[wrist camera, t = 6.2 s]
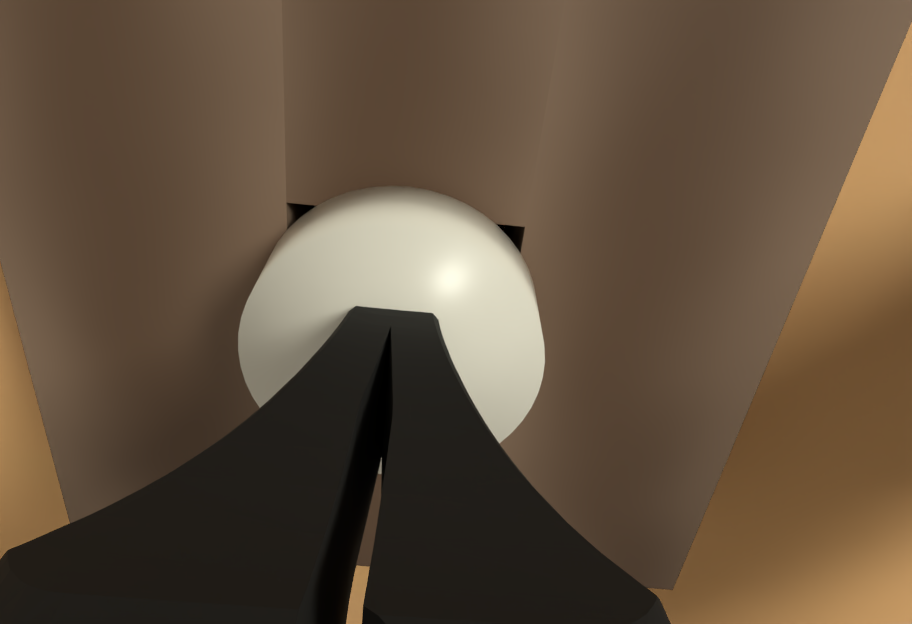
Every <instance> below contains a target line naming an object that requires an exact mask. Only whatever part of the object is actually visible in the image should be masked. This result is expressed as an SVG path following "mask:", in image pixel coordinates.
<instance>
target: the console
mask: <svg viewBox="0 0 912 624" xmlns="http://www.w3.org/2000/svg"><path fill="white" fill-rule="evenodd" d="M911 22H912V0H0V262H1V265H2V269H3V273H4V277H5V280H6V284H7V288H8V292H9V296H10V299H11V303H12V307H13V311H14V314H15V318H16V322H17V326H18V329H19V333H20V337H21V341H22V344H23V348H24V352H25V356H26V359H27V363H28V367H29V371H30V375H31V378H32V382H33V386H34V390H35V393H36V397H37V401H38V405H39V408H40V412H41V416H42V420H43V423H44V427H45V431H46V435H47V438H48V442H49V446H50V450H51V453H52V457H53V461H54V465H55V469H56V472H57V476H58V480H59V484H60V487H61V491H62V495H63V499H64V502H65V506H66V510H67V514H68V517H69V521H70V523H72V522H75V521H77V520H79V519H81V518H84V517H86V516H88V515H90V514H93V513H95V512H97V511H99V510H101V509H103V508H105V507H107V506H109V505H111V504H113V503H115V502H117V501H119V500H121V499H123V498H124V497H126V496H128V495H130V494H132V493H134V492H136V491H138V490H140V489H142V488H144V487H145V486H147V485H149V484H151V483H152V482H154V481H156V480H158V479H160V478H161V477H163V476H165V475H167V474H168V473H170V472H172V471H173V470H175V469H177V468H178V467H180V466H181V465H183V464H184V463H186V462H187V461H189V460H190V459H192V458H194V457H195V456H197V455H198V454H200V453H201V452H203V451H204V450H206V449H207V448H208V447H210V446H211V445H213V444H214V443H216V442H217V441H219V440H220V439H221V438H223V437H224V436H225V435H227V434H228V433H229V432H231V431H232V430H233V429H235V428H236V427H237V426H238V425H240V424H241V423H242V422H244V421H245V420H246V419H247V418H249V417H250V416H251V415H252V414H253V413H255V412H256V411H257V410H258V409H259V406H258V405H257V403H256V402H255V400H254V399H253V397H252V395H251V393H250V391H249V389H248V386H247V384H246V382H245V379H244V376H243V373H242V370H241V366H240V360H239V353H238V332H239V326H240V321H241V316H242V313H243V310H244V308H245V305H246V302H247V300H248V298H249V296H250V294H251V292H252V290H253V288H254V286H255V284H256V282H257V280H258V278H259V276H260V274H261V272H262V270H263V268H264V266H265V265H266V263H267V261H268V259H269V257H270V255H271V253H272V251H273V249H274V248H275V246H276V244H277V242H278V241H279V240H280V238H281V237H282V236H283V234H284V233H285V232H286V231H287V229H288V228H289V227H290V226H291V225H292V224H293V223H295V222H296V221H297V220H298V219H299V218H300V217H301V216H302V215H304V214H305V213H307V212H308V211H309V210H311V209H312V208H314V207H315V206H317V205H319V204H321V203H323V202H325V201H327V200H329V199H331V198H333V197H336V196H339V195H342V194H344V193H347V192H350V191H355V190H360V189H364V188H369V187H381V186H404V187H414V188H420V189H426V190H430V191H434V192H437V193H440V194H444V195H447V196H450V197H452V198H454V199H457V200H459V201H461V202H463V203H466V204H467V205H469V206H471V207H472V208H474V209H476V210H477V211H479V212H481V213H482V214H484V215H485V216H486V217H488V218H489V219H490V220H491V221H493V222H494V223H495V224H502V225H505V227H504V233H505V234H506V235H507V236H508V237H509V238H510V239H511V241H512V242H513V243H514V245H515V246H516V247H517V249H518V250H519V252H520V253H521V255H522V257H523V259H524V261H525V263H526V265H527V266H528V269H529V272H530V275H531V278H532V280H533V284H534V289H535V294H536V300H537V306H538V311H539V317H540V323H541V329H542V334H543V340H544V348H545V365H544V372H543V379H542V382H541V385H540V389H539V392H538V395H537V397H536V399H535V401H534V403H533V405H532V407H531V409H530V410H529V412H528V413H527V415H526V416H525V418H524V419H523V421H522V422H521V423H520V424H519V425H518V426H517V428H516V429H515V430H514V431H513V432H512V433H511V434H510V435H509V436H508V437H506V438H505V439H504V440H503V441H502V442H501V443H499V444H500V445H501V447H502V448H503V449H504V451H505V452H506V453H507V455H508V456H509V457H510V459H511V460H512V461H513V463H514V464H515V465H516V466H517V468H518V469H519V470H520V471H521V472H522V474H523V475H524V476H525V477H526V479H527V480H528V481H529V482H530V483H531V485H532V486H533V487H534V488H535V489H536V490H537V491H538V492H539V493H540V494H541V495H542V497H543V498H544V499H545V500H546V501H547V502H548V503H549V504H550V505H551V506H552V507H553V508H554V509H555V510H556V511H557V512H558V513H559V514H560V515H561V516H562V517H563V519H564V520H565V521H566V522H567V523H568V524H570V525H571V526H572V527H573V528H574V529H575V530H576V531H577V532H578V533H579V534H581V535H582V536H583V537H584V538H585V539H586V540H587V541H588V542H589V543H591V544H592V545H593V546H594V547H595V548H596V549H597V550H599V551H600V552H601V553H602V554H603V555H605V556H606V557H607V558H609V559H610V560H611V561H612V562H614V563H615V564H616V565H618V566H619V567H620V568H621V569H623V570H624V571H625V572H627V573H628V574H629V575H630V576H632V577H633V578H634V579H636V580H637V581H638V582H639V583H641V584H642V585H643V586H645V587H646V588H657V589H670V590H673V588H674V585H675V583H676V580H677V578H678V576H679V573H680V571H681V569H682V566H683V564H684V561H685V559H686V557H687V554H688V552H689V550H690V547H691V545H692V542H693V540H694V538H695V535H696V533H697V531H698V528H699V526H700V523H701V521H702V519H703V516H704V514H705V512H706V509H707V507H708V504H709V502H710V500H711V497H712V495H713V493H714V490H715V488H716V485H717V483H718V481H719V478H720V476H721V474H722V471H723V469H724V466H725V464H726V462H727V459H728V457H729V455H730V452H731V450H732V447H733V445H734V443H735V440H736V438H737V435H738V433H739V431H740V428H741V426H742V424H743V421H744V419H745V416H746V414H747V412H748V409H749V407H750V405H751V402H752V400H753V397H754V395H755V393H756V390H757V388H758V386H759V383H760V381H761V378H762V376H763V374H764V371H765V369H766V367H767V364H768V362H769V359H770V357H771V355H772V352H773V350H774V348H775V345H776V343H777V340H778V338H779V336H780V333H781V331H782V329H783V326H784V324H785V321H786V319H787V317H788V314H789V312H790V310H791V307H792V305H793V302H794V300H795V298H796V295H797V293H798V291H799V288H800V286H801V283H802V281H803V279H804V276H805V274H806V271H807V269H808V267H809V264H810V262H811V260H812V257H813V255H814V252H815V250H816V248H817V245H818V243H819V241H820V238H821V236H822V233H823V231H824V229H825V226H826V224H827V222H828V219H829V217H830V214H831V212H832V210H833V207H834V205H835V203H836V200H837V198H838V195H839V193H840V191H841V188H842V186H843V184H844V181H845V179H846V176H847V174H848V172H849V169H850V167H851V165H852V162H853V160H854V157H855V155H856V153H857V150H858V148H859V146H860V143H861V141H862V138H863V136H864V134H865V131H866V129H867V127H868V124H869V122H870V119H871V117H872V115H873V112H874V110H875V107H876V105H877V103H878V100H879V98H880V96H881V93H882V91H883V88H884V86H885V84H886V81H887V79H888V77H889V74H890V72H891V69H892V67H893V65H894V62H895V60H896V58H897V55H898V53H899V50H900V48H901V46H902V43H903V41H904V39H905V36H906V34H907V31H908V29H909V27H910V24H911ZM380 501H381V474H378V475H377V479H376V483H375V488H374V492H373V496H372V500H371V505H370V509H369V513H368V517H367V521H366V526H365V530H364V534H363V538H362V542H361V547H360V551H359V555H358V559H357V564H356V565H359V566H370V564H371V558H372V552H373V546H374V540H375V533H376V527H377V520H378V514H379V508H380Z"/></svg>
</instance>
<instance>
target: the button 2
mask: <svg viewBox="0 0 912 624" xmlns="http://www.w3.org/2000/svg"><path fill="white" fill-rule="evenodd" d="M355 306H362V307H372V308H382V309H393V310H404V311H416V312H428V313H433V314H434V315H435V316H436V317H437V319H438V320H439V325H440V329H441V332H442V336H443V338H444V341H445V344H446V347H447V349H448V352H449V354H450V357H451V359H452V361H453V364H454V366H455V368H456V370H457V372H458V374H459V376H460V378H461V380H462V382H463V384H464V386H465V388H466V390H467V392H468V394H469V396H470V397H471V399H472V401H473V403H474V405H475V406H476V408H477V410H478V411H479V413H480V415H481V416H482V418H483V420H484V421H485V423H486V424H487V426H488V427H489V429H490V431H491V432H492V434H493V435H494V437H495V438H496V439H497V441H498V442H499V443H501V442H502V441H503V440H504V439H505V438H506V437H508V436H509V435H510V434H511V433H512V432H513V431H514V430H515V429H516V428H517V426H518V425H519V424H520V423H521V422H522V421H523V419H524V418H525V416H526V415H527V413H528V412H529V410H530V409H531V407H532V405H533V403H534V401H535V399H536V397H537V395H538V392H539V389H540V385H541V382H542V379H543V372H544V365H545V348H544V340H543V334H542V329H541V323H540V317H539V311H538V306H537V300H536V294H535V289H534V284H533V280H532V278H531V275H530V272H529V269H528V266H527V265H526V263H525V261H524V259H523V257H522V255H521V253H520V252H519V250H518V249H517V247H516V246H515V245H514V243H513V242H512V241H511V239H510V238H509V237H508V236H507V235H506V234H505V233H504V232H503V231H502V230H501V229H500V228H499V226H498V225H496V224H495V223H494V222H493V221H491V220H490V219H489V218H488V217H486V216H485V215H484V214H482V213H481V212H479V211H477V210H476V209H474V208H472V207H471V206H469V205H467V204H466V203H463V202H461V201H459V200H457V199H454V198H452V197H450V196H447V195H444V194H440V193H437V192H434V191H430V190H426V189H420V188H414V187H404V186H381V187H369V188H364V189H360V190H355V191H350V192H347V193H344V194H342V195H339V196H336V197H333V198H331V199H329V200H327V201H325V202H323V203H321V204H319V205H317V206H315V207H314V208H312V209H311V210H309V211H308V212H307V213H305V214H304V215H302V216H301V217H300V218H299V219H298V220H297V221H296V222H295V223H293V224H292V225H291V226H290V227H289V228H288V229H287V231H286V232H285V233H284V234H283V236H282V237H281V238H280V240H279V241H278V242H277V244H276V246H275V248H274V249H273V251H272V253H271V255H270V257H269V259H268V261H267V263H266V265H265V266H264V268H263V270H262V272H261V274H260V276H259V278H258V280H257V282H256V284H255V286H254V288H253V290H252V292H251V294H250V296H249V298H248V300H247V302H246V305H245V308H244V310H243V313H242V316H241V321H240V326H239V332H238V353H239V360H240V366H241V370H242V373H243V376H244V379H245V382H246V384H247V386H248V389H249V391H250V393H251V395H252V397H253V399H254V400H255V402H256V403H257V405H258V406H259V408H260V407H262V406H263V405H264V404H265V403H266V402H267V401H268V400H269V399H271V398H272V397H273V396H274V395H275V394H276V393H277V392H278V391H279V390H280V389H281V388H282V387H283V386H284V385H285V384H286V383H287V382H288V381H289V380H290V379H291V378H293V377H294V376H295V375H296V374H297V373H298V372H299V371H300V369H301V368H302V367H303V366H304V365H305V364H306V363H307V362H308V361H309V360H310V359H311V357H312V356H313V355H314V354H315V353H316V352H317V351H318V350H319V349H320V348H321V346H322V345H323V344H324V343H325V342H326V340H327V339H328V338H329V337H330V336H331V334H332V333H333V332H334V331H335V329H336V328H337V327H338V326H339V324H340V323H341V322H342V320H343V319H344V317H345V316H346V315H347V313H348V312H349V311H350V310H351V309H352V308H354V307H355ZM381 473H382V457H381V462H380V466H379V470H378V474H381Z"/></svg>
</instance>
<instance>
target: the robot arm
mask: <svg viewBox="0 0 912 624" xmlns="http://www.w3.org/2000/svg"><path fill="white" fill-rule="evenodd" d="M381 457H382V473H381V501H380V508H379V514H378V520H377V527H376V533H375V540H374V546H373V552H372V558H371V564H370V570H369V576H368V582H367V587H366V593H365V599H364V604H363V619H362V624H671V623H670V621H669V619H668V617H667V615H666V612H665V610H664V608H663V606H662V604H661V601H660V599H659V598H658V597H657V596H656V595H655V594H654V593H652V592H651V591H650V590H648V589H647V588H646V587H645V586H643V585H642V584H641V583H639V582H638V581H637V580H636V579H634V578H633V577H632V576H630V575H629V574H628V573H627V572H625V571H624V570H623V569H621V568H620V567H619V566H618V565H616V564H615V563H614V562H612V561H611V560H610V559H609V558H607V557H606V556H605V555H603V554H602V553H601V552H600V551H599V550H597V549H596V548H595V547H594V546H593V545H592V544H591V543H589V542H588V541H587V540H586V539H585V538H584V537H583V536H582V535H581V534H579V533H578V532H577V531H576V530H575V529H574V528H573V527H572V526H571V525H570V524H568V523H567V522H566V521H565V520H564V519H563V517H562V516H561V515H560V514H559V513H558V512H557V511H556V510H555V509H554V508H553V507H552V506H551V505H550V504H549V503H548V502H547V501H546V500H545V499H544V498H543V497H542V495H541V494H540V493H539V492H538V491H537V490H536V489H535V488H534V487H533V486H532V485H531V483H530V482H529V481H528V480H527V479H526V477H525V476H524V475H523V474H522V472H521V471H520V470H519V469H518V468H517V466H516V465H515V464H514V463H513V461H512V460H511V459H510V457H509V456H508V455H507V453H506V452H505V451H504V449H503V448H502V447H501V445H500V444H499V442H498V441H497V439H496V438H495V437H494V435H493V434H492V432H491V431H490V429H489V427H488V426H487V424H486V423H485V421H484V420H483V418H482V416H481V415H480V413H479V411H478V410H477V408H476V406H475V405H474V403H473V401H472V399H471V397H470V396H469V394H468V392H467V390H466V388H465V386H464V384H463V382H462V380H461V378H460V376H459V374H458V372H457V370H456V368H455V366H454V364H453V361H452V359H451V357H450V354H449V352H448V349H447V347H446V344H445V341H444V338H443V336H442V332H441V329H440V325H439V320H438V319H437V317H436V316H435V315H434V314H433V313H428V312H416V311H404V310H393V309H382V308H372V307H362V306H355V307H354V308H352V309H351V310H350V311H349V312H348V313H347V315H346V316H345V317H344V319H343V320H342V322H341V323H340V324H339V326H338V327H337V328H336V329H335V331H334V332H333V333H332V334H331V336H330V337H329V338H328V339H327V340H326V342H325V343H324V344H323V345H322V346H321V348H320V349H319V350H318V351H317V352H316V353H315V354H314V355H313V356H312V357H311V359H310V360H309V361H308V362H307V363H306V364H305V365H304V366H303V367H302V368H301V369H300V371H299V372H298V373H297V374H296V375H295V376H294V377H293V378H291V379H290V380H289V381H288V382H287V383H286V384H285V385H284V386H283V387H282V388H281V389H280V390H279V391H278V392H277V393H276V394H275V395H274V396H273V397H272V398H271V399H269V400H268V401H267V402H266V403H265V404H264V405H263V406H262V407H260V408H259V409H258V410H257V411H256V412H255V413H253V414H252V415H251V416H250V417H249V418H247V419H246V420H245V421H244V422H242V423H241V424H240V425H238V426H237V427H236V428H235V429H233V430H232V431H231V432H229V433H228V434H227V435H225V436H224V437H223V438H221V439H220V440H219V441H217V442H216V443H214V444H213V445H211V446H210V447H208V448H207V449H206V450H204V451H203V452H201V453H200V454H198V455H197V456H195V457H194V458H192V459H190V460H189V461H187V462H186V463H184V464H183V465H181V466H180V467H178V468H177V469H175V470H173V471H172V472H170V473H168V474H167V475H165V476H163V477H161V478H160V479H158V480H156V481H154V482H152V483H151V484H149V485H147V486H145V487H144V488H142V489H140V490H138V491H136V492H134V493H132V494H130V495H128V496H126V497H124V498H123V499H121V500H119V501H117V502H115V503H113V504H111V505H109V506H107V507H105V508H103V509H101V510H99V511H97V512H95V513H93V514H90V515H88V516H86V517H84V518H81V519H79V520H77V521H75V522H72V523H70V524H68V525H66V526H63V527H61V528H59V529H56V530H54V531H52V532H50V533H47V534H45V535H43V536H41V537H38V538H36V539H34V540H31V541H29V542H27V543H24V544H22V545H19V546H17V547H14V548H12V549H9V550H8V551H7V552H6V553H5V554H4V555H3V557H2V558H1V559H0V624H346V619H347V612H348V604H349V598H350V593H351V587H352V582H353V577H354V572H355V568H356V564H357V559H358V555H359V551H360V547H361V542H362V538H363V534H364V530H365V526H366V521H367V517H368V513H369V509H370V505H371V500H372V496H373V492H374V488H375V483H376V479H377V475H378V470H379V466H380V462H381Z"/></svg>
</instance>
